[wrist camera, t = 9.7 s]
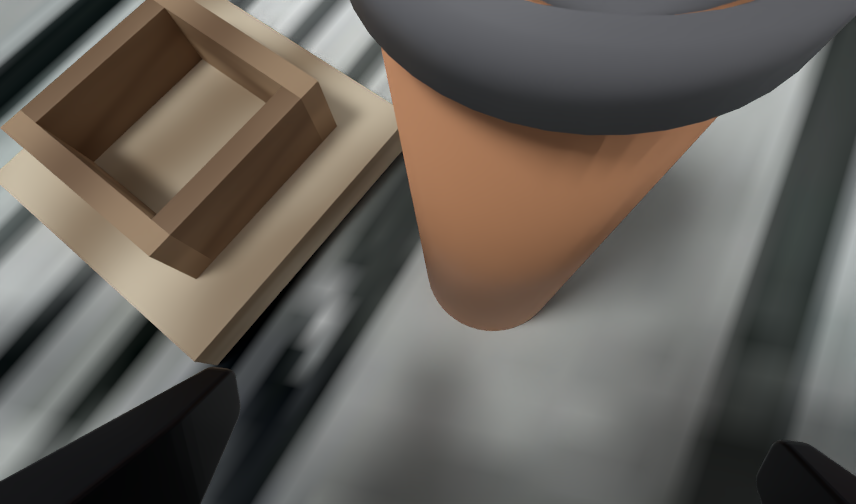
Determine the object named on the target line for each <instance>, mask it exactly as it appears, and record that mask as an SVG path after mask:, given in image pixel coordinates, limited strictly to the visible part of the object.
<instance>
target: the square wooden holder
mask: <svg viewBox="0 0 856 504" xmlns="http://www.w3.org/2000/svg"><path fill="white" fill-rule="evenodd" d="M1 129H2V130H3V131H4V132H6V133H7V134H8V135H9V136H10V137H11V138H13V139H14V140H15V141H16V142H17V143H18V144H19V145H21V146H22V147H23V148H24V149H22V150H21V151H20V152H19V153H18V154H17V155H16V156H15V157H14V158H12V159H11V160H10V161H9V162H8V163H7V164H6V165H5V166H4V167H2V168H1V169H0V185H1V186H2V187H4V188H5V189H6V190H7V191H8V192H9V193H10V194H11V195H12V196H13V197H15V198H16V199H17V200H18V201H19V202H20V203H21V204H22V205H23V206H24V207H25V208H27V209H28V210H29V211H30V212H31V213H32V214H33V215H34V216H35V217H36V218H38V219H39V220H40V221H41V222H42V223H43V224H44V225H45V226H46V227H47V228H49V229H50V230H51V231H52V232H53V233H54V234H55V235H56V236H57V237H58V238H59V239H61V240H62V241H63V242H64V243H65V244H66V245H67V246H68V247H69V248H70V249H72V250H73V251H74V252H75V253H76V254H77V255H78V256H79V257H80V258H81V259H83V260H84V261H85V262H86V263H87V264H88V265H89V266H90V267H91V268H92V269H93V270H95V271H96V272H97V273H98V274H99V275H100V276H101V277H102V278H103V279H104V280H106V281H107V282H108V283H109V284H110V285H111V286H112V287H113V288H114V289H115V290H116V291H118V292H119V293H120V294H121V295H122V296H123V297H124V298H125V299H126V300H127V301H129V302H130V303H131V304H132V305H133V306H134V307H135V308H136V309H137V310H138V311H140V312H141V313H142V314H143V315H144V316H145V317H146V318H147V319H148V320H149V321H150V322H152V323H153V324H154V325H155V326H156V327H157V328H158V329H159V330H160V331H161V332H163V333H164V334H165V335H166V336H167V337H168V338H169V339H170V340H171V341H172V342H173V343H175V344H176V345H177V346H178V347H179V348H180V349H181V350H182V351H183V352H184V353H186V354H187V355H188V356H189V357H190V358H191V359H192V360H193V361H195V362H201V363H207V364H213V365H218V364H219V363H220V362H221V360H222V359H223V358H224V357H225V356H226V355H227V354H228V352H229V351H230V350H231V349H232V348H233V347H234V345H235V344H236V343H237V342H238V341H239V340H240V338H241V337H242V336H243V335H244V334H245V333H246V331H247V330H248V329H249V328H250V327H251V326H252V324H253V323H254V322H255V321H256V320H257V319H258V318H259V316H260V315H261V314H262V313H263V312H264V311H265V309H266V308H267V307H268V306H269V305H270V304H271V302H272V301H273V300H274V299H275V298H276V297H277V295H278V294H279V293H280V292H281V291H282V290H283V288H284V287H285V286H286V285H287V284H288V283H289V282H290V280H291V279H292V278H293V277H294V276H295V275H296V273H297V272H298V271H299V270H300V269H301V268H302V266H303V265H304V264H305V263H306V262H307V261H308V259H309V258H310V257H311V256H312V255H313V254H314V252H315V251H316V250H317V249H318V248H319V247H320V246H321V244H322V243H323V242H324V241H325V240H326V239H327V237H328V236H329V235H330V234H331V233H332V232H333V230H334V229H335V228H336V227H337V226H338V225H339V223H340V222H341V221H342V220H343V219H344V218H345V217H346V215H347V214H348V213H349V212H350V211H351V210H352V208H353V207H354V206H355V205H356V204H357V203H358V201H359V200H360V199H361V198H362V197H363V196H364V194H365V193H366V192H367V191H368V190H369V189H370V187H371V186H372V185H373V184H374V183H375V182H376V181H377V179H378V178H379V177H380V176H381V175H382V174H383V172H384V171H385V170H386V169H387V168H388V167H389V165H390V164H391V163H392V162H393V161H394V160H395V158H396V157H397V156H398V155H399V154H400V153H401V151H402V146H401V141H400V136H399V131H398V127H397V122H396V117H395V112H394V107H393V105H392V104H391V103H389V102H388V101H386V100H384V99H383V98H381V97H380V96H378V95H376V94H375V93H373V92H372V91H370V90H369V89H367V88H365V87H364V86H362V85H361V84H359V83H357V82H356V81H354V80H353V79H351V78H350V77H348V76H346V75H345V74H343V73H342V72H340V71H338V70H337V69H335V68H334V67H332V66H331V65H329V64H327V63H326V62H324V61H323V60H321V59H319V58H318V57H316V56H315V55H313V54H312V53H310V52H308V51H307V50H305V49H304V48H302V47H300V46H299V45H297V44H296V43H294V42H293V41H291V40H289V39H288V38H286V37H285V36H283V35H281V34H280V33H278V32H277V31H275V30H274V29H272V28H270V27H269V26H267V25H266V24H264V23H262V22H261V21H259V20H258V19H256V18H255V17H253V16H251V15H250V14H248V13H247V12H245V11H243V10H242V9H240V8H239V7H237V6H236V5H234V4H232V3H231V2H229V1H228V0H146V1H145V2H143V3H142V4H141V5H140V6H139V7H138V8H137V9H135V10H134V11H133V12H132V13H131V14H130V15H129V16H127V17H126V18H125V19H124V20H123V21H122V22H121V23H119V24H118V25H117V26H116V27H115V28H114V29H113V30H111V31H110V32H109V33H108V34H107V35H106V36H105V37H103V38H102V39H101V40H100V41H99V42H98V43H97V44H95V45H94V46H93V47H92V48H91V49H90V50H89V51H87V52H86V53H85V54H84V55H83V56H82V57H81V58H79V59H78V60H77V61H76V62H75V63H74V64H73V65H71V66H70V67H69V68H68V69H67V70H66V71H65V72H63V73H62V74H61V75H60V76H59V77H58V78H57V79H55V80H54V81H53V82H52V83H51V84H50V85H49V86H47V87H46V88H45V89H44V90H43V91H42V92H41V93H40V94H38V95H37V96H36V97H35V98H34V99H33V100H32V101H30V102H29V103H28V104H27V105H26V106H25V107H24V108H22V109H21V110H20V111H19V112H18V113H17V114H16V115H14V116H13V117H12V118H11V119H10V120H9V121H8V122H6V123H5V124H4V125H3V126H2V127H1Z"/></svg>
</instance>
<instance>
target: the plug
mask: <svg viewBox="0 0 856 504" xmlns="http://www.w3.org/2000/svg"><path fill="white" fill-rule="evenodd" d="M350 1H351V4H352V6H353V8H354V10H355V12H356V13H357V15H358V17H359V18H360V20H361V21H362V23H363V25H364V26H365V28H366V29H367V31H368V32H369V34H370V35H371V36H372V37H373V38H374V39H375V41H376V42H377V43H378V44H379V45H380V46H381V49H382V53H383V58H384V63H385V68H386V73H387V78H388V83H389V88H390V92H391V97H392V102H393V107H394V112H395V117H396V122H397V127H398V131H399V136H400V141H401V146H402V151H403V156H404V161H405V166H406V171H407V175H408V180H409V185H410V190H411V195H412V200H413V205H414V210H415V214H416V219H417V224H418V229H419V234H420V239H421V244H422V249H423V253H424V258H425V263H426V268H427V273H428V278H429V282H430V286H431V289H432V291H433V294H434V296H435V297H436V299H437V301H438V302H439V304H440V305H441V306H442V308H443V309H444V310H445V311H446V312H447V313H448V314H449V315H450V316H452V317H453V318H454V319H456V320H457V321H459V322H461V323H462V324H465V325H467V326H469V327H472V328H476V329H480V330H486V331H499V330H506V329H510V328H514V327H516V326H519V325H521V324H523V323H525V322H526V321H528V320H530V319H531V318H532V317H534V316H535V315H536V314H537V313H538V312H539V311H540V310H541V309H542V308H543V307H544V305H545V304H546V303H547V302H548V301H549V300H550V299H551V298H552V297H553V296H554V295H555V293H556V292H557V291H558V290H559V289H560V288H561V287H562V286H563V285H564V284H565V283H566V281H567V280H568V279H569V278H570V277H571V276H572V275H573V274H574V273H575V272H576V271H577V269H578V268H579V267H580V266H581V265H582V264H583V263H584V262H585V261H586V260H587V259H588V257H589V256H590V255H591V254H592V253H593V252H594V251H595V250H596V249H597V248H598V247H599V245H600V244H601V243H602V242H603V241H604V240H605V239H606V238H607V237H608V236H609V235H610V233H611V232H612V231H613V230H614V229H615V228H616V227H617V226H618V225H619V224H620V223H621V221H622V220H623V219H624V218H625V217H626V216H627V215H628V214H629V213H630V212H631V211H632V209H633V208H634V207H635V206H636V205H637V204H638V203H639V202H640V201H641V200H642V199H643V197H644V196H645V195H646V194H647V193H648V192H649V191H650V190H651V189H652V188H653V187H654V185H655V184H656V183H657V182H658V181H659V180H660V179H661V178H662V177H663V176H664V175H665V173H666V172H667V171H668V170H669V169H670V168H671V167H672V166H673V165H674V164H675V163H676V161H677V160H678V159H679V158H680V157H681V156H682V155H683V154H684V153H685V152H686V151H687V149H688V148H689V147H690V146H691V145H692V144H693V143H694V142H695V141H696V140H697V139H698V137H699V136H700V135H701V134H702V133H703V132H704V131H705V130H706V129H707V128H708V127H709V125H710V124H711V123H712V122H713V121H714V120H715V119H716V118H717V117H718V116H720V115H723V114H725V113H728V112H731V111H733V110H736V109H739V108H741V107H743V106H745V105H746V104H748V103H750V102H752V101H754V100H756V99H758V98H760V97H761V96H763V95H765V94H767V93H769V92H771V91H772V90H774V89H775V88H776V87H778V86H779V85H780V84H782V83H783V82H784V81H786V80H787V79H788V78H790V77H791V76H793V75H794V74H795V73H797V72H798V71H799V70H800V69H801V68H802V67H803V66H804V65H805V64H806V63H807V62H808V61H809V60H810V59H811V58H812V57H814V56H815V55H816V54H817V53H818V52H819V51H820V50H821V49H822V48H823V47H824V46H825V45H826V44H827V43H828V42H829V41H830V40H831V39H832V38H833V37H834V36H835V35H836V34H837V33H838V32H839V31H840V30H841V29H842V28H844V27H845V26H846V25H847V24H848V23H849V22H850V21H851V20H852V19H853V18H854V17H855V16H856V0H350Z"/></svg>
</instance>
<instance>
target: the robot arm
mask: <svg viewBox="0 0 856 504" xmlns="http://www.w3.org/2000/svg"><path fill="white" fill-rule="evenodd" d="M239 413H240V399H239V393H238V387H237V381H236V376H235V373H234V372H233V371H232V370H230V369H224V368H217V367H210V368H207V369H205V370H203V371H201V372H199V373H197V374H196V375H194V376H192V377H190V378H188V379H186V380H185V381H183V382H181V383H179V384H177V385H175V386H174V387H172V388H170V389H168V390H166V391H164V392H163V393H161V394H159V395H157V396H155V397H153V398H152V399H150V400H148V401H146V402H144V403H143V404H141V405H139V406H137V407H135V408H133V409H132V410H130V411H128V412H126V413H124V414H122V415H121V416H119V417H117V418H115V419H113V420H111V421H110V422H108V423H106V424H104V425H102V426H101V427H99V428H97V429H95V430H93V431H91V432H90V433H88V434H86V435H84V436H82V437H80V438H79V439H77V440H75V441H73V442H71V443H69V444H68V445H66V446H64V447H62V448H60V449H58V450H57V451H55V452H53V453H51V454H49V455H48V456H46V457H44V458H42V459H40V460H38V461H37V462H35V463H33V464H31V465H29V466H27V467H26V468H24V469H22V470H20V471H18V472H16V473H15V474H13V475H11V476H9V477H7V478H5V479H4V480H2V481H0V504H201V502H202V499H203V497H204V495H205V493H206V491H207V489H208V486H209V484H210V482H211V479H212V477H213V475H214V473H215V470H216V468H217V466H218V463H219V461H220V459H221V456H222V454H223V452H224V450H225V447H226V445H227V443H228V440H229V438H230V436H231V433H232V431H233V429H234V427H235V424H236V422H237V420H238V417H239ZM756 486H757V491H758V494H759V497H760V500H761V503H762V504H856V476H854V475H853V474H851V473H850V472H848V471H847V470H846V469H844V468H843V467H841V466H840V465H838V464H837V463H835V462H834V461H833V460H831V459H830V458H828V457H827V456H825V455H824V454H823V453H821V452H820V451H818V450H817V449H815V448H814V447H812V446H811V445H809V444H807V443H803V442H796V441H788V440H778V441H776V442H775V443H773V445H772V446H771V448H770V450H769V452H768V454H767V456H766V457H765V459H764V461H763V463H762V465H761V467H760V469H759V471H758V473H757V477H756Z"/></svg>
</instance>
